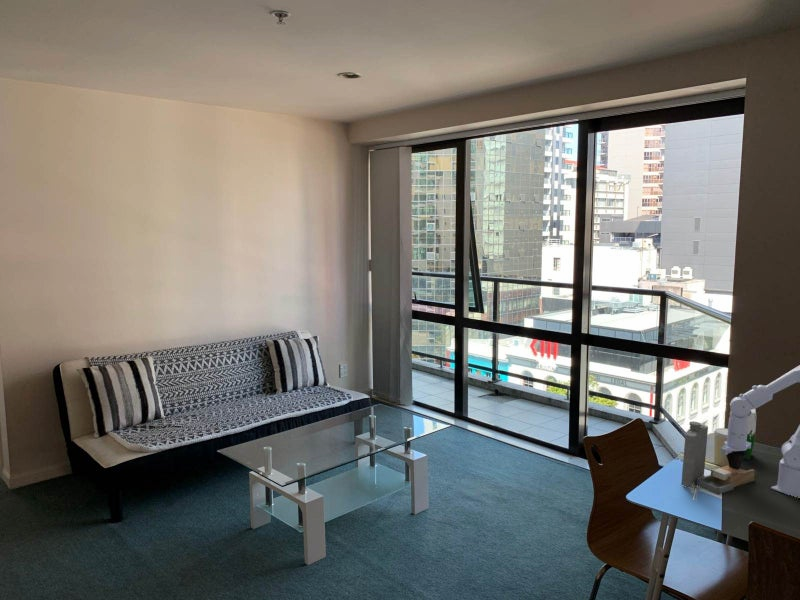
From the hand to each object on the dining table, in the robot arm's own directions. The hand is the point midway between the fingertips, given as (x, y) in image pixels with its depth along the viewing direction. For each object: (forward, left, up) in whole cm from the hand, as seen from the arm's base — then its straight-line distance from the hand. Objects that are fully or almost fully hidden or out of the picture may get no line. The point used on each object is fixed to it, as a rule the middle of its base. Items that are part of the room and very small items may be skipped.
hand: (733, 471), depth 202 cm
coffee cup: (+10, -12, -3) cm, 16 cm away
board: (0, +1, -3) cm, 3 cm away
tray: (-1, +12, -3) cm, 12 cm away
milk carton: (+13, -26, -3) cm, 30 cm away
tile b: (0, +7, -1) cm, 7 cm away
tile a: (0, +3, -1) cm, 3 cm away
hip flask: (+7, +13, -3) cm, 15 cm away
